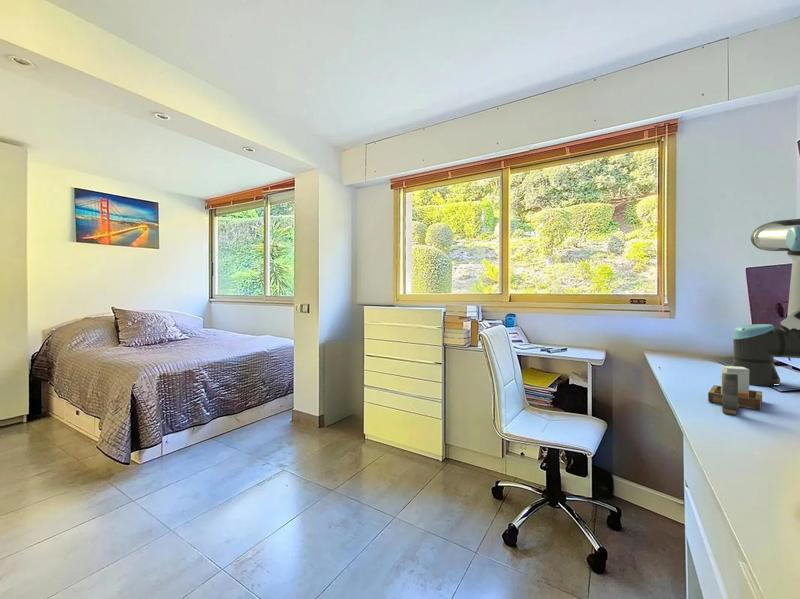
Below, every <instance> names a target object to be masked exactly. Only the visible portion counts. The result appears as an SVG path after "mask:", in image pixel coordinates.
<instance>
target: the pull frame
mask: <svg viewBox="0 0 800 599" xmlns="http://www.w3.org/2000/svg"><path fill="white" fill-rule="evenodd" d="M707 393H708V394H707V397H708V398H707V401H708V402H709V403H710V402H711V403H715V404H721V405H722V406H721V411H722V413H724V414H728V415H734V416H737V415H738V413H739V408H740V407H741V408H748V409H753V410H758V411H760V410H761V407H762V403H763V391H758V390H752V389H749V398H746V397H739V396H738V375H737V374H733V373H722V394H721V385H714V384H713V386H712V387H711V388H710V390H709V391H708V392H707Z"/></svg>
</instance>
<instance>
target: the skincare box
mask: <svg viewBox="0 0 800 599" xmlns="http://www.w3.org/2000/svg"><path fill="white" fill-rule="evenodd" d="M720 368H721V370H720V371H721V372H720V373H721V375H720V378H721V380H720V381H721V382H720V386H721V394H722V373H733V374H737V375H738V396H739V397H746V398H749V390H750V384H749V369H747V368H745V367H736V366H732V365H730V366H729V365H728V366H727V365H721V366H720Z"/></svg>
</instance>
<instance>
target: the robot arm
mask: <svg viewBox="0 0 800 599" xmlns="http://www.w3.org/2000/svg"><path fill="white" fill-rule="evenodd" d="M750 240H751V242H750V243H752V246H754V247H755V248H757V249H759V250H762V251H768V252H787V254H786V256H788V257H789V258H791V259H792V262H791V273H790V274H791V275H790V283H789V293H788V294H789V296H788V307H787V317H785V318H784V319H783V320H781V321H780V322H779V324H780V327H775V326H774V325H773V324H771V323H770V324H769V323H767V324H766V323H765V324H764V323H761V324H759V323H757V324H745V325H744V324H743V325H739V326H736V327H734V329H733V336H732V340H733V361H732V364H731V366H736V367H745V368H747V369H749V386H750V385H752V386H761V387H762V386H763V387H771V386H770V385H774V384H779V383H780V384H781V378H780V376H779V373H778V371H777V369H776V366H775V364H774V361H775V360H774V359H775V358H787V359H800V218H795V219H794V218H792V219H781V220H774V221H770V222H767V223H763V224H761V225H759V226H758V227H756V228H755V229H754V230H753V231H752V233H751V235H750Z"/></svg>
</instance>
